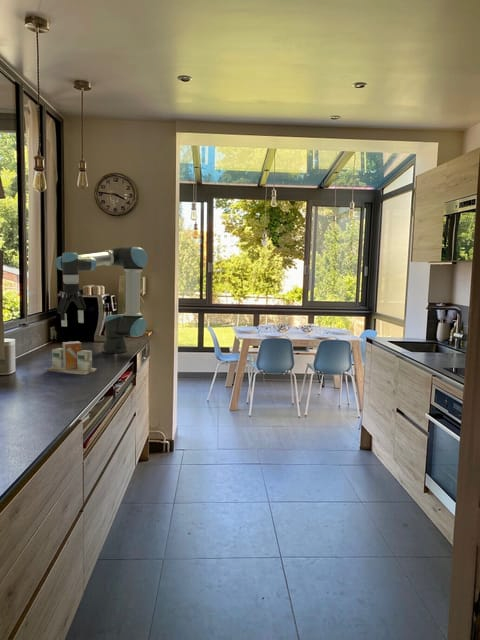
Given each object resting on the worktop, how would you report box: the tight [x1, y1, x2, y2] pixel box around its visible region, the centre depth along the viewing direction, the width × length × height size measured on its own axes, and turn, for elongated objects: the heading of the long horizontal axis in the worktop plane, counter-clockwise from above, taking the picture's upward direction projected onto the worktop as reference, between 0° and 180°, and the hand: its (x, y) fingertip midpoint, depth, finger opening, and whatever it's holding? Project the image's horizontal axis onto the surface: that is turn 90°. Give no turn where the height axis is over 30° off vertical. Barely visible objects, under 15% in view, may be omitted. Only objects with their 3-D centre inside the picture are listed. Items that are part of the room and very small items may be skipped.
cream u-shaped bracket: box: [47, 347, 98, 375], centre depth 225 cm, size 10×22×11 cm, turn 73°
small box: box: [62, 340, 83, 369], centre depth 224 cm, size 8×6×13 cm
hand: (72, 324), depth 226 cm, fingers open, 13 cm apart
